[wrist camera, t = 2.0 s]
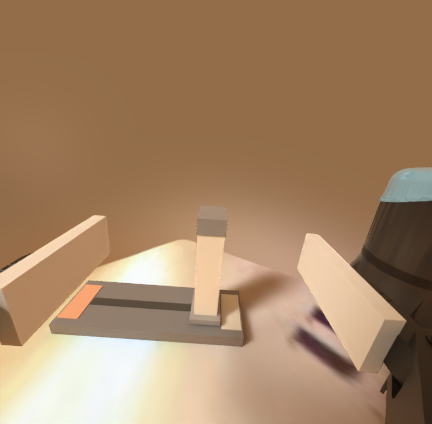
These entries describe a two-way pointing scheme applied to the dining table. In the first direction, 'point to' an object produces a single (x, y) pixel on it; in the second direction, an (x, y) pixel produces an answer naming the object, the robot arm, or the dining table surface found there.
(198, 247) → the lever
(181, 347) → the dining table surface
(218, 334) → the switch board
